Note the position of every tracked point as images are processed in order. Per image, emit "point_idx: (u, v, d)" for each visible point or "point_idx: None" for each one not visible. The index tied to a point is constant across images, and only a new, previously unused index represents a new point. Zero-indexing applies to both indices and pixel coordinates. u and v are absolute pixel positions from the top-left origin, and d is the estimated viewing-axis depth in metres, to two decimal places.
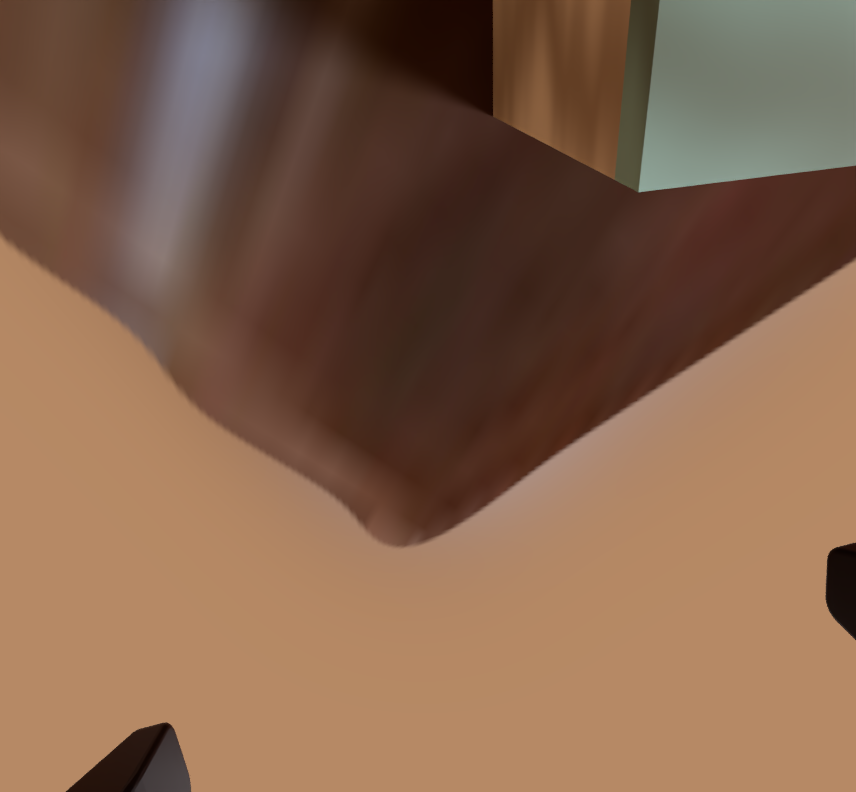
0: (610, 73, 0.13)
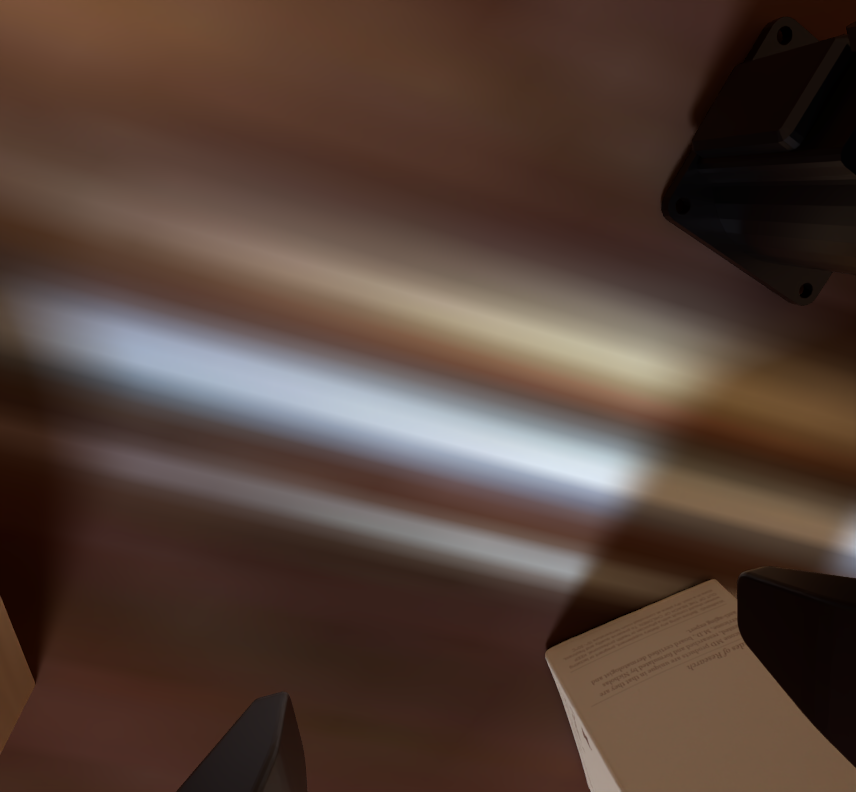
0: None
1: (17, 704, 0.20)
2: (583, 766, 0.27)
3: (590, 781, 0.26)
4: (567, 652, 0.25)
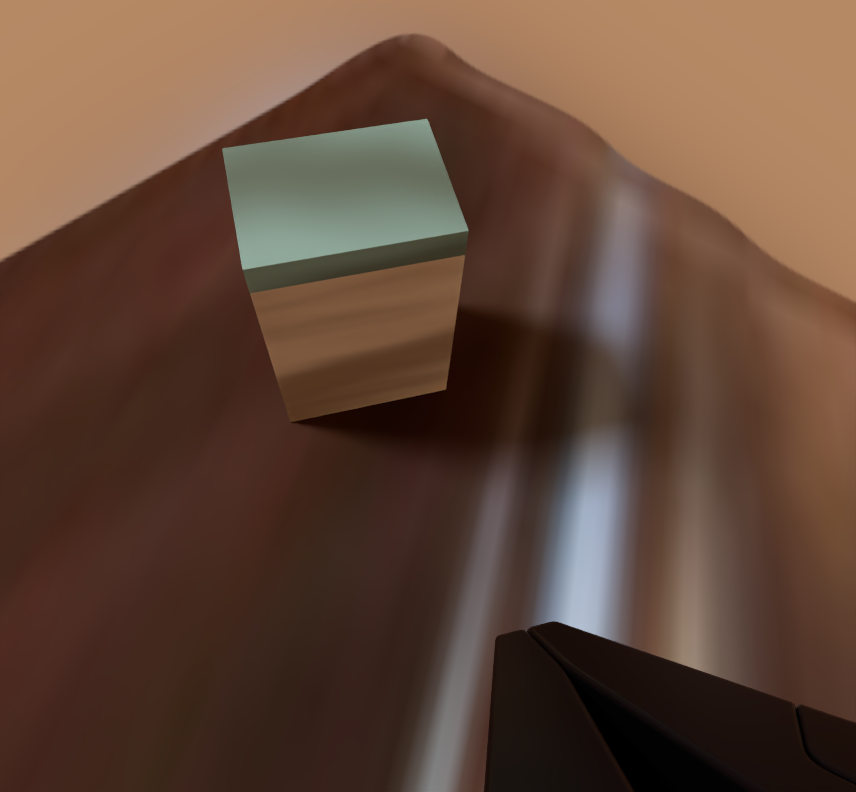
0: None
1: (294, 405, 0.24)
2: None
3: None
4: None
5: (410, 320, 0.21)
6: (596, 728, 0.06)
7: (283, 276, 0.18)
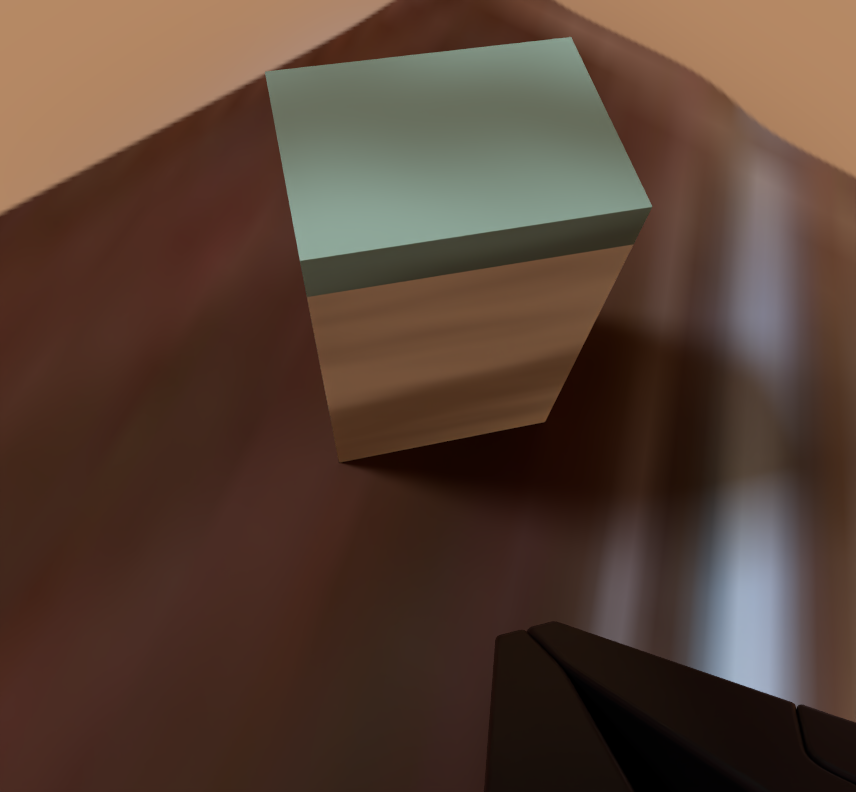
0: None
1: (348, 442, 0.18)
2: None
3: None
4: None
5: (527, 336, 0.15)
6: (596, 728, 0.06)
7: (361, 272, 0.11)
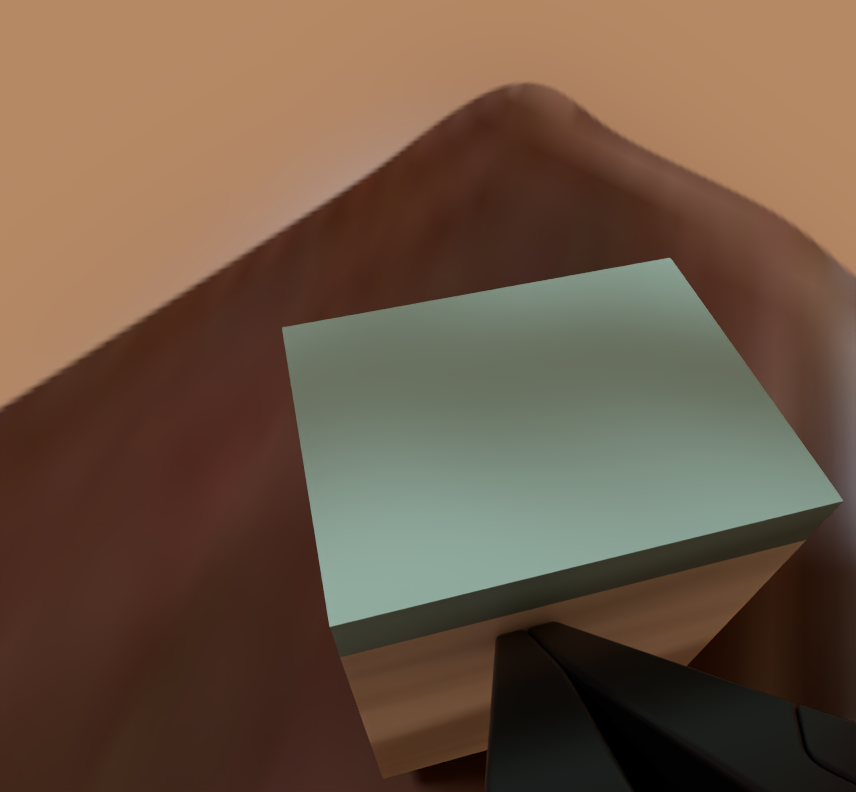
0: None
1: (396, 762, 0.13)
2: None
3: None
4: None
5: (644, 641, 0.11)
6: (596, 728, 0.06)
7: (421, 623, 0.08)
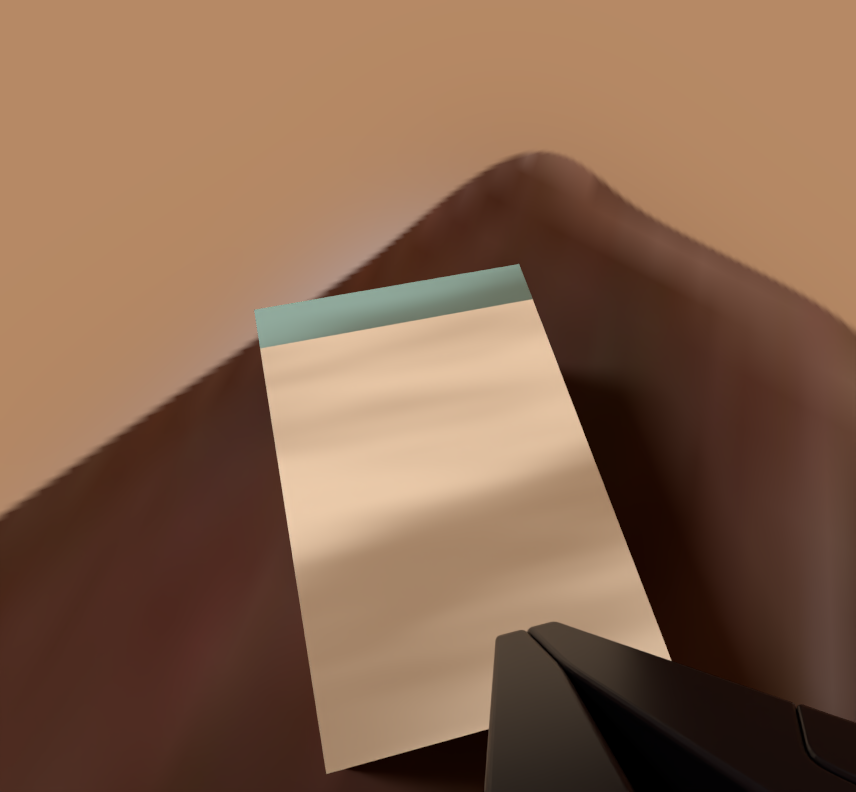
0: None
1: (333, 682, 0.11)
2: None
3: None
4: None
5: (503, 422, 0.14)
6: (596, 728, 0.06)
7: (302, 322, 0.15)
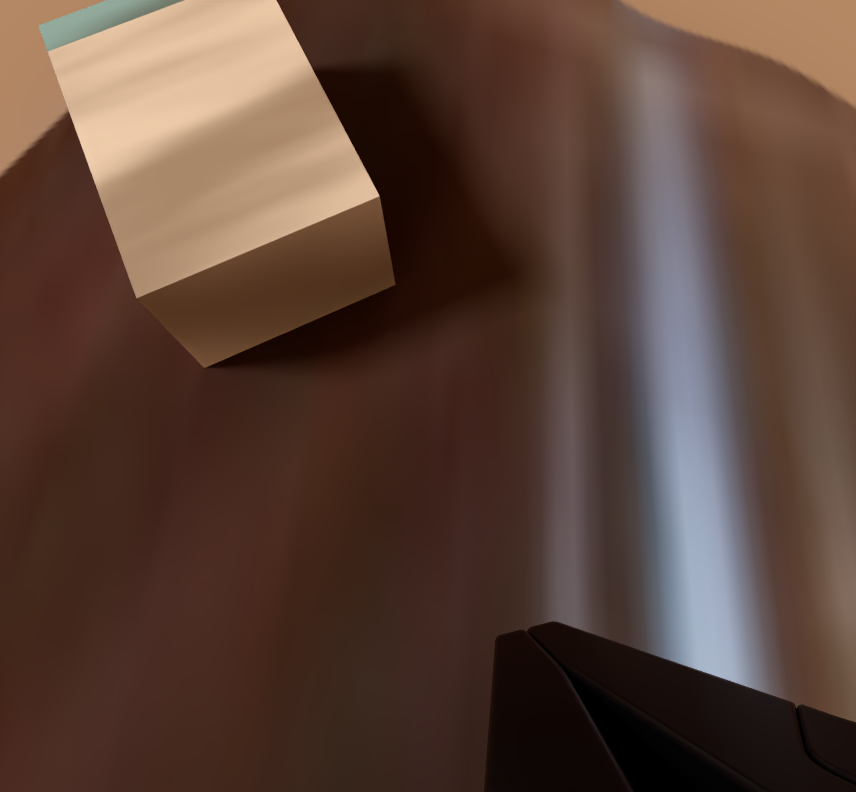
0: None
1: (134, 247, 0.16)
2: None
3: None
4: None
5: (243, 63, 0.17)
6: (596, 728, 0.06)
7: (78, 26, 0.18)
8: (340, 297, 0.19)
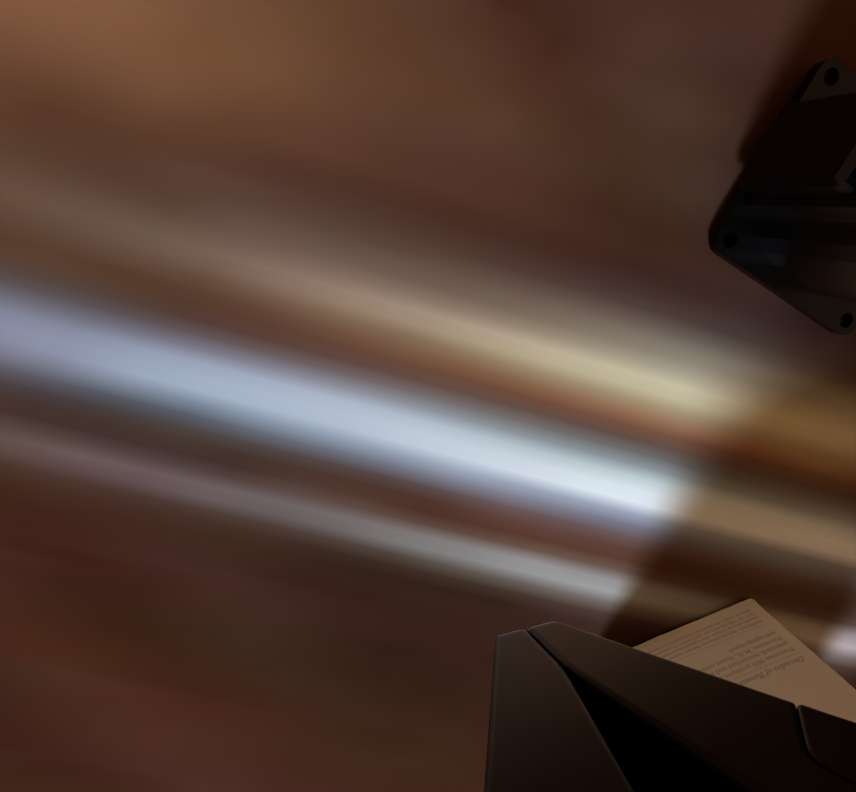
0: None
1: None
2: None
3: None
4: None
5: None
6: (596, 728, 0.06)
7: None
8: None
